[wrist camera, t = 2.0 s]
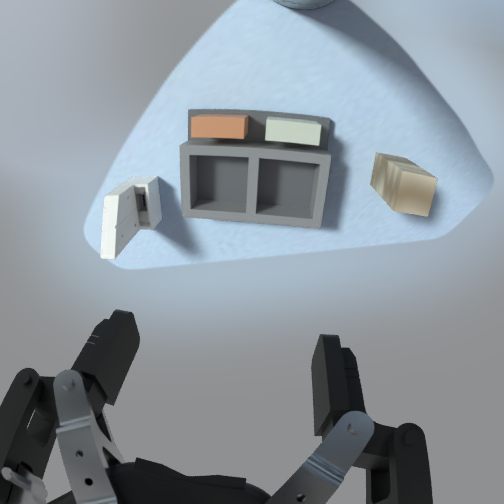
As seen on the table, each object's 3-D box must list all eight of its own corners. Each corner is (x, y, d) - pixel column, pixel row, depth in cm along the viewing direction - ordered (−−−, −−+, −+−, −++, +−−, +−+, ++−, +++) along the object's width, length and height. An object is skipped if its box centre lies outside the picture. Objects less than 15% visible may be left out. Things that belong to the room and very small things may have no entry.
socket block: (190, 109, 29) (176, 112, 24) (328, 117, 28) (337, 122, 24) (191, 203, 35) (179, 221, 30) (316, 213, 34) (321, 232, 30)
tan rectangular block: (376, 152, 29) (402, 170, 23) (406, 158, 29) (437, 178, 22) (370, 184, 32) (393, 211, 25) (399, 189, 31) (427, 216, 24)
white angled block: (135, 256, 36) (100, 258, 28) (141, 181, 36) (108, 165, 28) (160, 257, 36) (129, 260, 28) (165, 180, 36) (137, 163, 27)
